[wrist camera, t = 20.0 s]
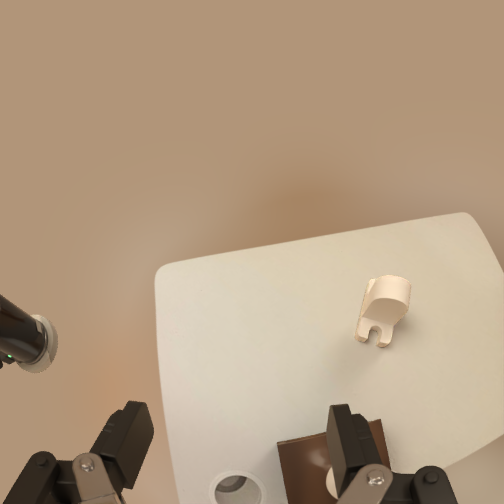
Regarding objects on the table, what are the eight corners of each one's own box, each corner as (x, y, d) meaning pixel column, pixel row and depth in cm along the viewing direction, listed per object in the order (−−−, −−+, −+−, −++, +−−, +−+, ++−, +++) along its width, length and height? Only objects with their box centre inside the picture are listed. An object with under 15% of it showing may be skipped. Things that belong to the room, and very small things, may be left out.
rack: (287, 498, 32) (290, 514, 25) (276, 441, 37) (277, 444, 30) (372, 477, 33) (394, 486, 25) (360, 421, 38) (380, 418, 30)
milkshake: (338, 498, 25) (360, 520, 17) (306, 469, 28) (318, 484, 19) (368, 470, 27) (400, 481, 18) (337, 442, 29) (359, 446, 21)
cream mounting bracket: (353, 339, 44) (372, 315, 36) (367, 282, 49) (384, 249, 40) (385, 348, 43) (410, 326, 34) (396, 291, 48) (419, 260, 39)
